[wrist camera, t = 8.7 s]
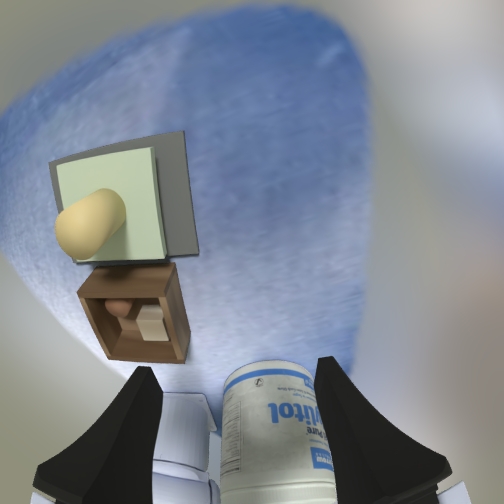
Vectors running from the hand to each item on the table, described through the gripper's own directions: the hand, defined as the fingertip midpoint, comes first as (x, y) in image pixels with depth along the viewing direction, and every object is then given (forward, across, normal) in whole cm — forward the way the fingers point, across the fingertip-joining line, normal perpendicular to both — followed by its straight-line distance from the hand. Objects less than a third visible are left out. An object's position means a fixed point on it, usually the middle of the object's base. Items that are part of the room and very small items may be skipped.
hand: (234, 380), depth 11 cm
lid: (+10, +8, -6) cm, 14 cm away
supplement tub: (+11, -2, +15) cm, 19 cm away
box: (+11, +8, +3) cm, 14 cm away
